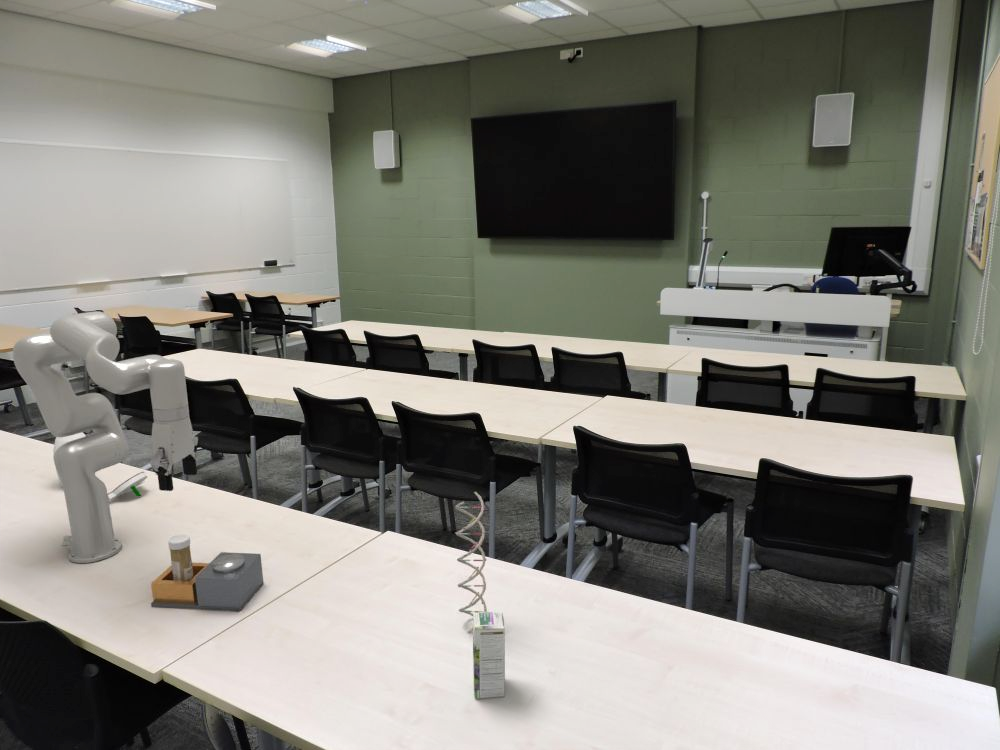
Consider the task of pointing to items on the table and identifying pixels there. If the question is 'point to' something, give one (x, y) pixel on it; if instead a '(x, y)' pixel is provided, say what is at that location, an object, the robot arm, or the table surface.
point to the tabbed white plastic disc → (128, 486)
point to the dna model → (473, 560)
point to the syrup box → (488, 654)
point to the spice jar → (181, 558)
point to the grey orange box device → (212, 584)
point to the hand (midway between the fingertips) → (178, 482)
